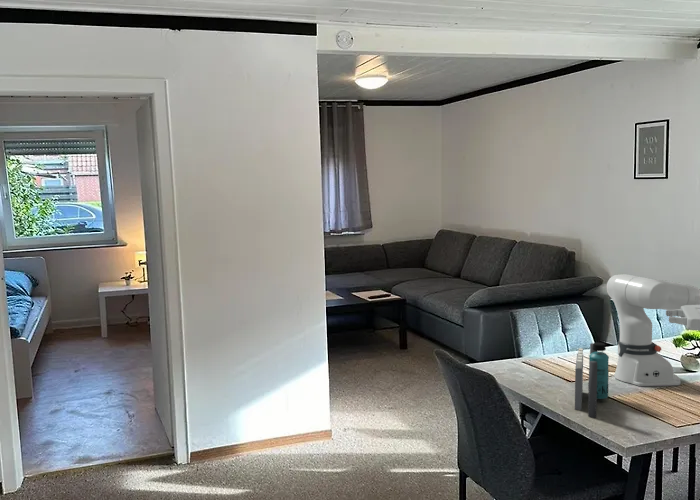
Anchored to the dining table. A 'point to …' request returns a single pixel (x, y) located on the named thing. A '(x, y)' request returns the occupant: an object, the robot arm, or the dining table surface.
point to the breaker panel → (579, 380)
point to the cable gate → (592, 386)
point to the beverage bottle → (600, 370)
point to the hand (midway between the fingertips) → (667, 316)
